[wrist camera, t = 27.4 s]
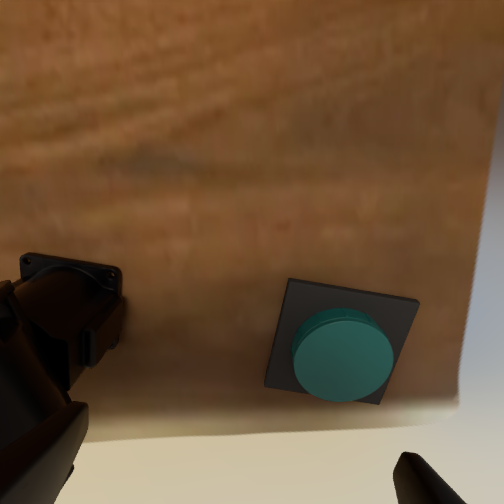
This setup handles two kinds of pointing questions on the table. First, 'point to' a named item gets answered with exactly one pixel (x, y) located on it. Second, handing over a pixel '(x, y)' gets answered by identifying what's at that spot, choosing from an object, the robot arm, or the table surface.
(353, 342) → the lid
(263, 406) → the table surface
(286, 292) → the mat
